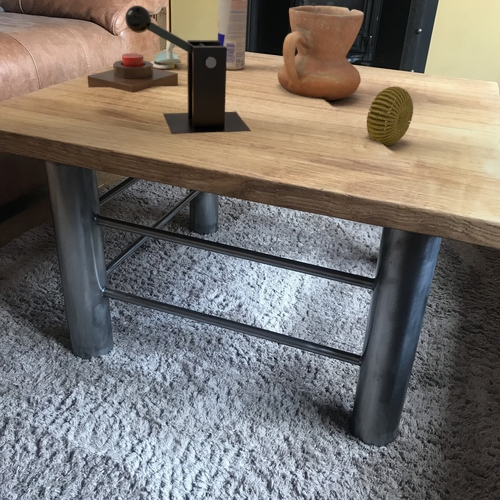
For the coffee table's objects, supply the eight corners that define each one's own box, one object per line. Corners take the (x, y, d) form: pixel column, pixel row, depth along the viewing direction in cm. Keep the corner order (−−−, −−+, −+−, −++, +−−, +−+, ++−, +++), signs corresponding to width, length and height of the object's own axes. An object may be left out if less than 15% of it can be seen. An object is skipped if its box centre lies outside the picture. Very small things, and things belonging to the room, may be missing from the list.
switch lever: (121, 26, 69) (132, 2, 68) (120, 22, 72) (130, -2, 71) (212, 76, 75) (223, 54, 74) (207, 70, 78) (218, 49, 77)
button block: (133, 99, 92) (131, 74, 90) (88, 88, 96) (86, 64, 94) (178, 85, 101) (177, 62, 99) (135, 76, 105) (134, 54, 103)
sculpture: (388, 135, 83) (398, 79, 78) (412, 142, 80) (423, 85, 76) (356, 146, 77) (365, 88, 73) (381, 154, 75) (392, 95, 71)
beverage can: (248, 66, 117) (252, -13, 109) (238, 72, 112) (242, -10, 105) (223, 63, 119) (225, -15, 111) (212, 68, 114) (214, -13, 106)
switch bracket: (171, 142, 75) (169, 50, 69) (163, 121, 83) (160, 37, 77) (250, 138, 78) (255, 50, 72) (235, 119, 85) (238, 37, 79)
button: (134, 69, 94) (133, 58, 94) (118, 66, 96) (117, 55, 95) (148, 65, 97) (147, 55, 96) (132, 62, 99) (131, 52, 98)
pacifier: (152, 72, 109) (183, 70, 111) (150, 38, 106) (181, 37, 108) (147, 63, 115) (176, 62, 117) (145, 31, 112) (175, 30, 114)
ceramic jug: (318, 80, 110) (326, 1, 102) (378, 97, 101) (392, 12, 93) (250, 93, 99) (254, 6, 92) (311, 114, 90) (321, 19, 83)
